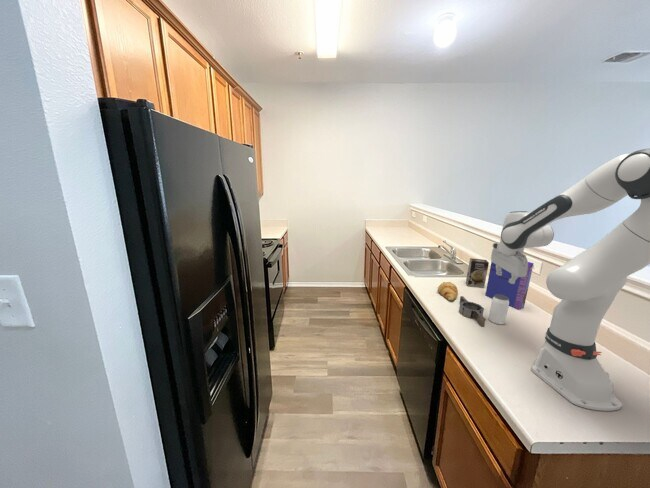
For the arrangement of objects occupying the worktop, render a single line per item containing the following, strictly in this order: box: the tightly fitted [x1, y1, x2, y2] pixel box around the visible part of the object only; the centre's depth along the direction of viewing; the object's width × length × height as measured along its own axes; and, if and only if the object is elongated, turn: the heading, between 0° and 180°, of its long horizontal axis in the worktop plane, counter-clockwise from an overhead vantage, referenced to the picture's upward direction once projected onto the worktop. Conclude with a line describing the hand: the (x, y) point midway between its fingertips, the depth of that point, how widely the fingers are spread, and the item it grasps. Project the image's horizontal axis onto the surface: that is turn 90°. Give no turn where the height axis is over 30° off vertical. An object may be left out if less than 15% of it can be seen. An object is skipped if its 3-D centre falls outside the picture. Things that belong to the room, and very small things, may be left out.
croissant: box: [437, 281, 459, 302], centre depth 151 cm, size 21×10×8 cm, turn 168°
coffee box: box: [465, 257, 490, 289], centre depth 162 cm, size 9×6×16 cm
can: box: [488, 294, 510, 326], centre depth 122 cm, size 6×6×12 cm
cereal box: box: [484, 261, 534, 311], centre depth 140 cm, size 17×5×24 cm, turn 24°
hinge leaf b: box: [459, 295, 485, 315], centre depth 132 cm, size 16×10×4 cm, turn 177°
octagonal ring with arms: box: [458, 306, 486, 328], centre depth 126 cm, size 16×10×4 cm, turn 177°
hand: (504, 279), depth 119 cm, fingers open, 8 cm apart
